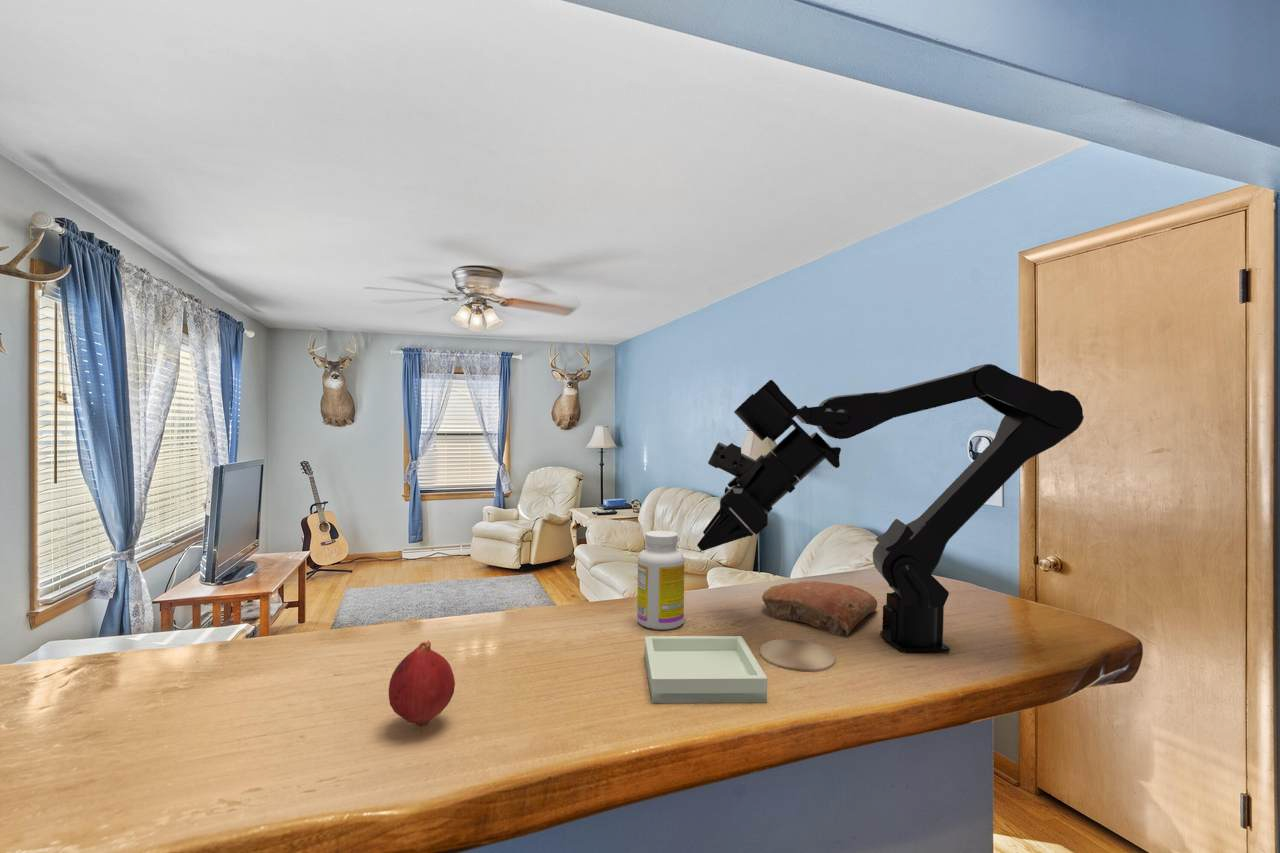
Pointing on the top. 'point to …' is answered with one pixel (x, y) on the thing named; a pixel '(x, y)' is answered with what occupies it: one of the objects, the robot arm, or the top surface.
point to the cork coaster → (797, 655)
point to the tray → (703, 670)
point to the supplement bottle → (660, 582)
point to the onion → (421, 685)
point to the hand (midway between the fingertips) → (702, 541)
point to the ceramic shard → (820, 604)
